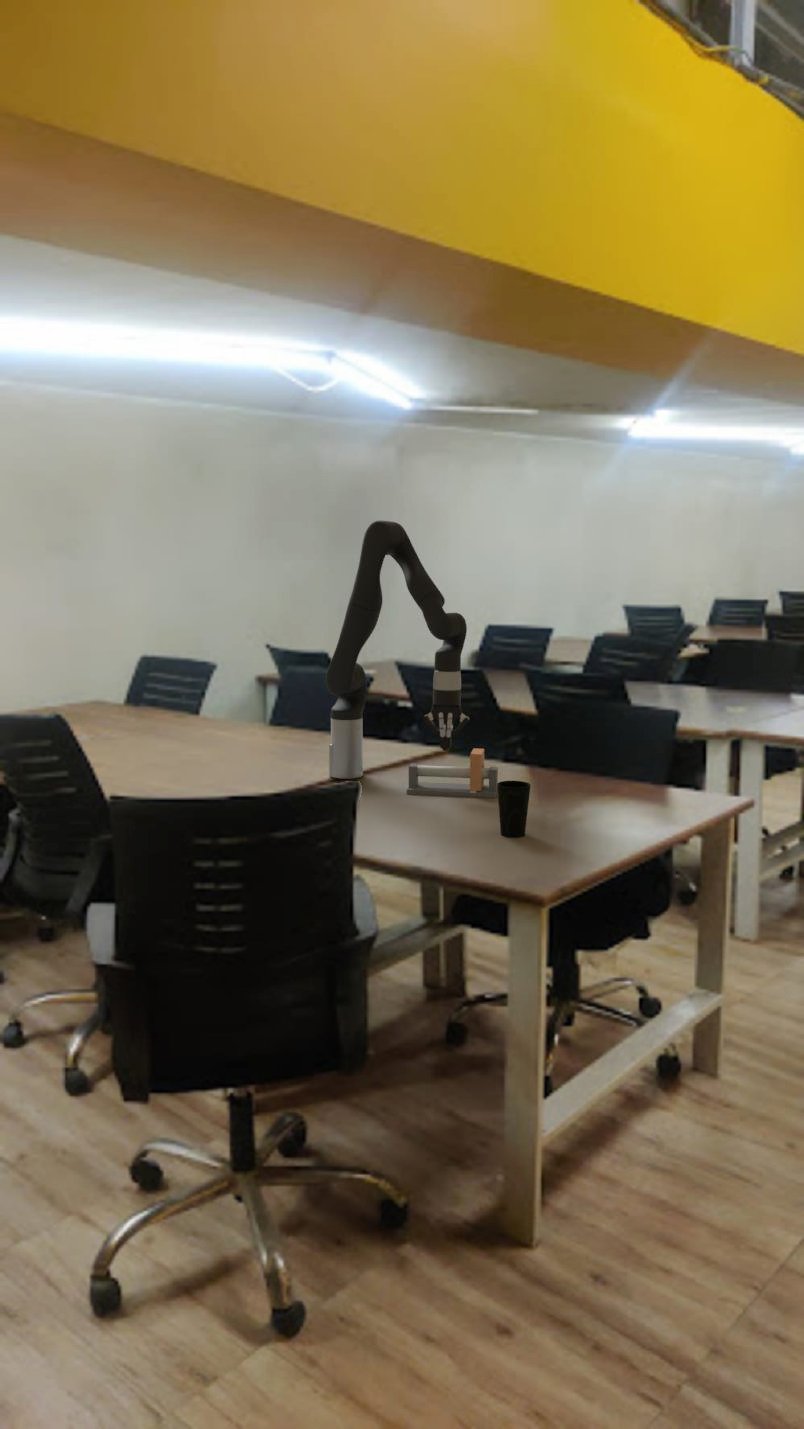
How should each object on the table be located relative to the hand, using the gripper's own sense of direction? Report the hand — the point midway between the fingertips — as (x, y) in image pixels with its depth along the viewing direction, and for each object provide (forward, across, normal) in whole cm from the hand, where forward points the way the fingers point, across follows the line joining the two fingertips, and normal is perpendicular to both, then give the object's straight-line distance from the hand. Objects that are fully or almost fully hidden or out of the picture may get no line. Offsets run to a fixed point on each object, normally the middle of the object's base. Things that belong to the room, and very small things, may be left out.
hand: (445, 750), depth 279 cm
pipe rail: (+12, +2, 0) cm, 12 cm away
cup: (+11, +21, -40) cm, 47 cm away
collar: (+10, +9, 0) cm, 13 cm away
